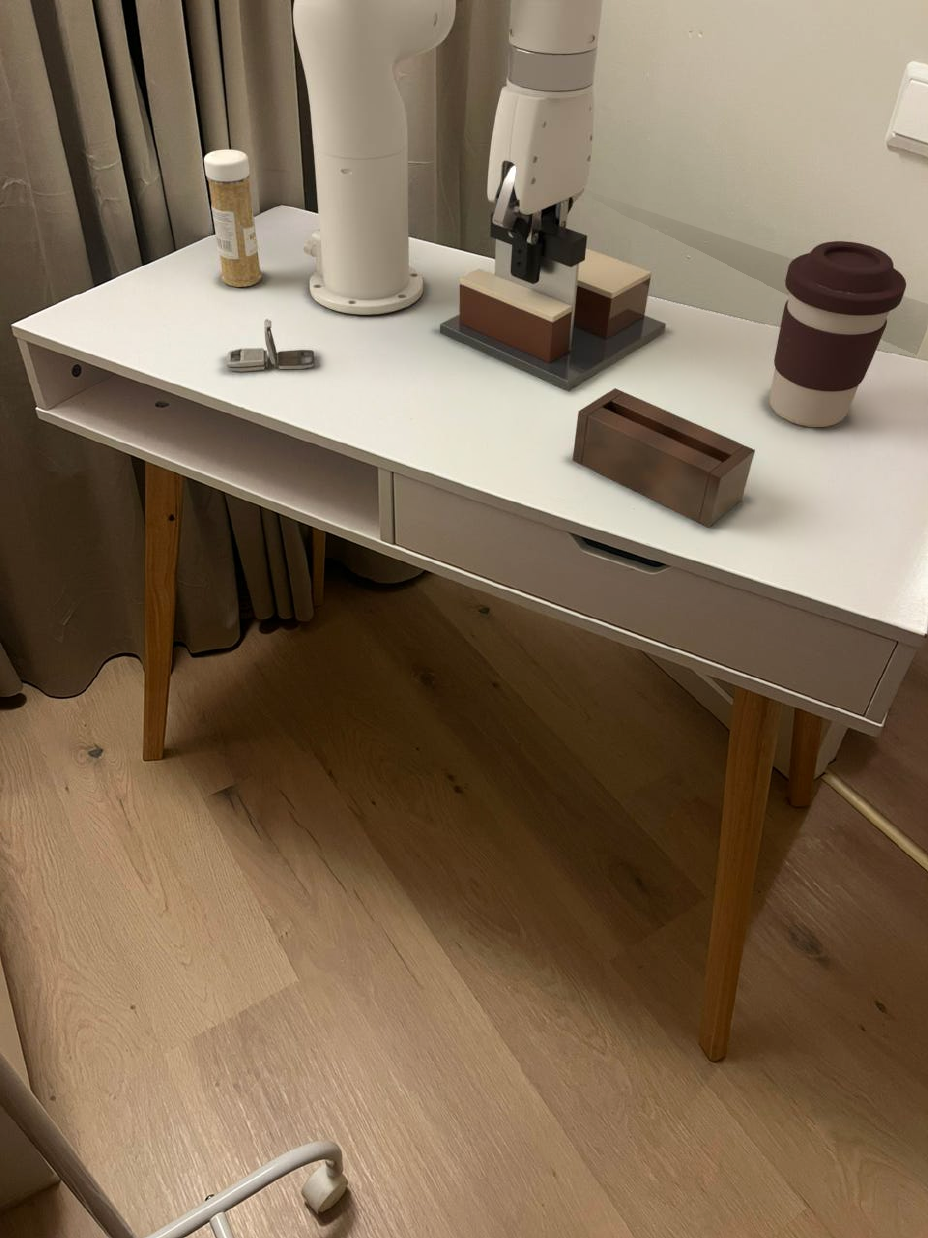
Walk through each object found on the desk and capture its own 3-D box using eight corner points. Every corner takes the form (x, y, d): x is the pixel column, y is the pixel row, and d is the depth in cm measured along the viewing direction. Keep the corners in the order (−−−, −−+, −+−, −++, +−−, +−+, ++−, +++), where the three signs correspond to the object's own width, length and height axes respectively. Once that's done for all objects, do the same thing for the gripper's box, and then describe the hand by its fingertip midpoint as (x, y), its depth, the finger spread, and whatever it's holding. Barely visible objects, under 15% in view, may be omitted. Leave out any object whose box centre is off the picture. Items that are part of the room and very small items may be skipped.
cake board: (439, 332, 104) (440, 277, 100) (540, 282, 114) (544, 230, 110) (567, 391, 96) (574, 333, 92) (664, 332, 106) (674, 278, 102)
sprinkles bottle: (269, 282, 112) (255, 157, 103) (231, 291, 110) (213, 165, 101) (251, 267, 115) (236, 144, 105) (214, 276, 113) (196, 151, 104)
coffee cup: (782, 372, 100) (823, 223, 90) (876, 406, 96) (930, 254, 86) (735, 411, 95) (773, 256, 84) (833, 449, 90) (885, 292, 80)
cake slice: (459, 323, 104) (459, 277, 100) (478, 313, 105) (478, 268, 102) (549, 363, 98) (553, 316, 95) (568, 352, 100) (572, 305, 96)
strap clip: (227, 372, 97) (221, 332, 94) (228, 357, 99) (222, 317, 96) (315, 368, 98) (311, 329, 95) (314, 353, 100) (310, 314, 97)
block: (572, 460, 88) (578, 410, 84) (607, 436, 91) (615, 387, 87) (708, 527, 81) (721, 477, 78) (742, 499, 84) (755, 449, 81)
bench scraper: (487, 321, 104) (490, 212, 96) (500, 314, 105) (505, 205, 97) (563, 354, 99) (573, 242, 91) (576, 346, 100) (587, 235, 92)
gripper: (572, 42, 91) (553, 240, 104) (456, 75, 82) (451, 287, 95) (639, 59, 88) (612, 261, 100) (526, 96, 79) (511, 313, 91)
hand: (534, 272), depth 98 cm, fingers closed on bench scraper, 2 cm apart
